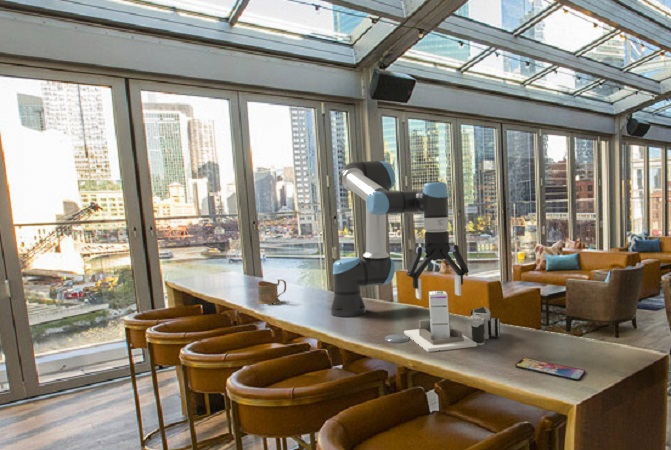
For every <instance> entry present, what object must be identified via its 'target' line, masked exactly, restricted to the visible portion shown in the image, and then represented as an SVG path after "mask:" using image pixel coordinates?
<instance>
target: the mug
mask: <svg viewBox="0 0 671 450" xmlns="http://www.w3.org/2000/svg"><path fill="white" fill-rule="evenodd" d="M280 281H281V282H283V284H284V285H283V286H284V287H283V291H282V292H281V293H279V294H278V291H279V290H278V287H279V286H280ZM257 288H258V289H257V293H258V295H257V296H258V300H257V302H256V304H257V303H258V304H257V305H259V304H271V305H273V304H272V303H276V304H278V303H277V302H279V301H280V302H281V300H280V299H279V297H280V296H281V295H282V294H284V293H286V292H287V291H286V290H287V282H286V281H285V280H284V279H277V283H275V282H270V281H266V280H259V281H258V282H257ZM280 302H279V303H280Z"/></svg>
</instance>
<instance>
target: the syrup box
mask: <svg viewBox="0 0 671 450" xmlns="http://www.w3.org/2000/svg"><path fill="white" fill-rule="evenodd" d="M448 296H449V295H448V293H447V291H446V290H432V291H431V290H430V291H428V304H429V305H428V308H429V319H430V325H431V333H432V334H433V335H434V338H435V339H442V338H450V327H449V318H450V316H449V315H450V313H449V299H448Z"/></svg>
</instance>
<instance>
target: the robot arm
mask: <svg viewBox="0 0 671 450" xmlns="http://www.w3.org/2000/svg"><path fill="white" fill-rule="evenodd" d="M395 176H396V175H395V171H394V167H392V165H391V163H389V162H387V161H381V160H376V161H375V160H374V161H373V160H371V161H365V160H364V161H359V160H358V161H357V160H356V161H352V162H349V163H347V164H346V165H344V166H343V168H342V169H341V170H340V172H339V178H338V179H339V182H340V184H341V186H342V187H343V188H344V189H345V190H347V191H349V192H353V193H354V194H356V195H357V196H358V197H360V198H361V199H362V200H363V201H365V220H366V221H365V231H366V232H365V240H366V241H365V242H366V243H365V246H366V247H365V250H366V251H365V252H363V254H362V259H360V257H357V256H353V257H346V258H340V259H338V260H336V261H334V263H333V264H332V274H333V275H332V276H333V299H332V303H331V306H330V314H331V315H332V316H335V317H341V318H342V317H347V318H348V317H359V316H362V315H365V314H367V307H366V303H365V301H364V299H363V296H362V288H365V287H374V286H375V287H376V286H384V285H388V284H390V283H391V282H392V281H393V279H394V276H395V272H396V271H395V270H396V267H395V264H394V260H393V259H392V258H391V257H390V254H389V253H388V251H387V215H393V214H394V215H395V214H397V215H398V214H416V213H417V214H419V213H423V221H424V222H423V224H424V225H423V227H424V230H425V232H424V247H420V246H416V247H415V251H414V255H413V258H412V260H411V263H410V265H409V267H408V269H407V272H406V276H407V277H409V278H411V279H412V288H413V289H415V298H416V299H418V300H422V279H421V278H420V276H421V274H422V273H423V272H424V271H425V269H426V268H427V266H428V265H429V264H430V263H431V262H432V261H445V262H446V263H447V264H448V265H449V266H450V268H451V269H452V270H453V271H454V272H455V273H456V274H454V275H453V276H454V295H456V296H459V297H461V296H462V285H464V276H465V274H468V273H469V269H468V267H467V264H466V262H465V260H464V259H463V257H462V254H461V253H460V248H459V245H457V244H452V245H450V233H449V231H448V230H449V193H448V184H447V183H445V182H442V181H441V182H439V181H438V182H425V183H424V184H423V185H422V190H400V191H399V190H397V191H393V190H391V191H390V189H392V188H393V187H394V186H395V183H396V177H395ZM450 251H451V252H452V254H453V257H454V259H455V261H456V262H455V261H454V260H453V259H452V257H451V256H450V254H449V253H450ZM424 253H425V255H424V257H423V259H422V261H421V262H420V260H421V258H422V255H423V254H424Z"/></svg>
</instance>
